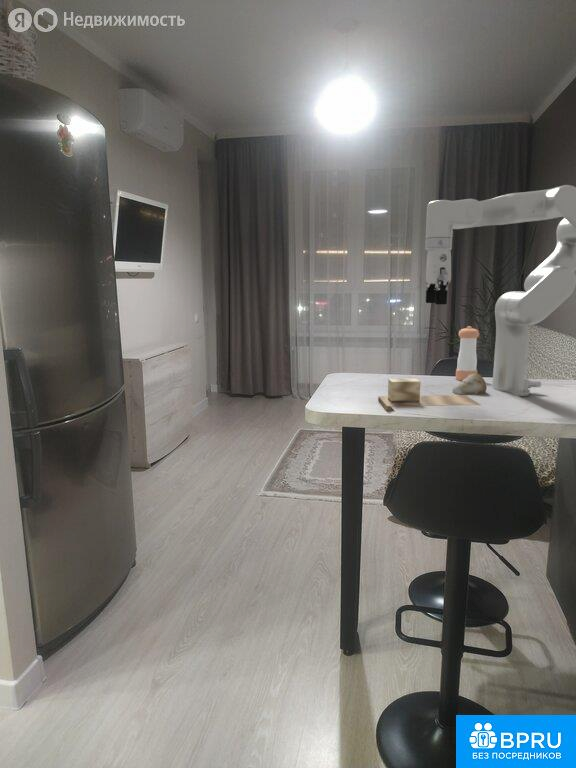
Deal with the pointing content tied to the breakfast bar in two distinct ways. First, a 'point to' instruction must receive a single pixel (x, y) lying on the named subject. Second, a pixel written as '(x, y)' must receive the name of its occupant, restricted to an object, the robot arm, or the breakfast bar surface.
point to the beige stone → (471, 385)
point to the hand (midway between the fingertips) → (435, 303)
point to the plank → (430, 401)
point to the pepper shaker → (467, 353)
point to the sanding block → (403, 390)
